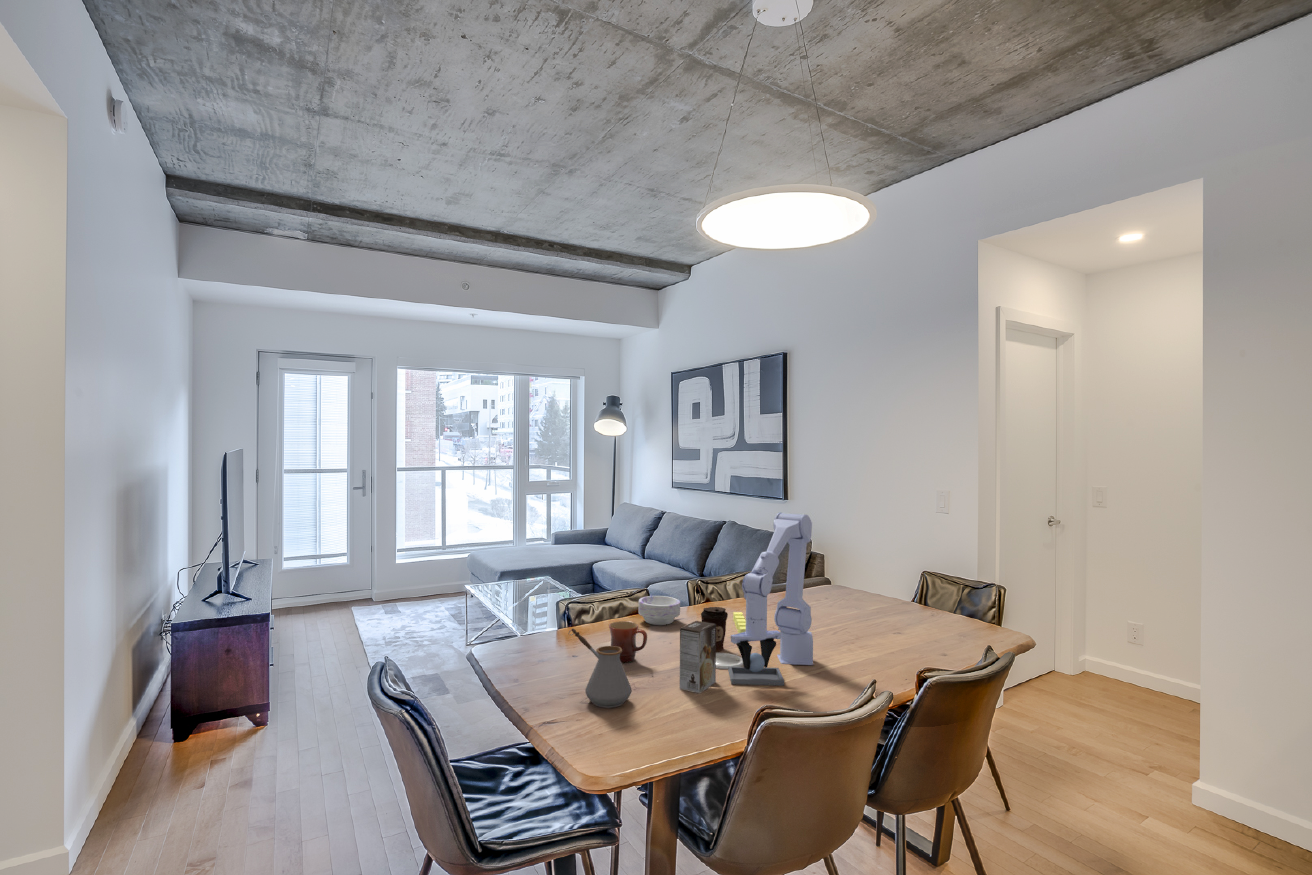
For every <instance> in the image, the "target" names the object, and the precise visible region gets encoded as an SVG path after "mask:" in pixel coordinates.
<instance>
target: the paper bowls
mask: <svg viewBox="0 0 1312 875" xmlns="http://www.w3.org/2000/svg"><path fill="white" fill-rule="evenodd" d="M638 614H639V615H640V617H643V619H644V622H646V623H647V624H648V625H649V624H650V625H654V626H665V625H666V624H667V625H670V624H672V623H673V622H674V621H675V619H676V618H677V617H679V616H680V614H681V600H680V599H679V598H675V597H672V596H667V595H649V596H643V597H640V598H639V599H638ZM667 625H666V626H667Z"/></svg>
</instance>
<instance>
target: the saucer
mask: <svg viewBox="0 0 1312 875" xmlns="http://www.w3.org/2000/svg"><path fill="white" fill-rule="evenodd" d="M728 666H733V667H743V666H744V665H743V660H742V656H741V655H740V656H739V655H737V654H733V653H728V652H716V669H718V670H728Z"/></svg>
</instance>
